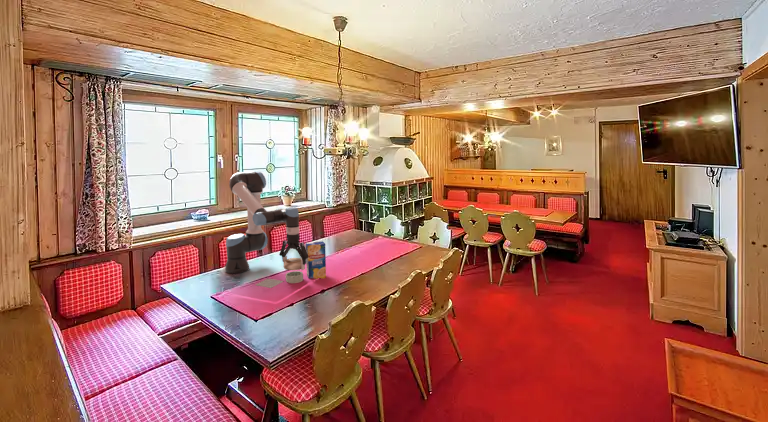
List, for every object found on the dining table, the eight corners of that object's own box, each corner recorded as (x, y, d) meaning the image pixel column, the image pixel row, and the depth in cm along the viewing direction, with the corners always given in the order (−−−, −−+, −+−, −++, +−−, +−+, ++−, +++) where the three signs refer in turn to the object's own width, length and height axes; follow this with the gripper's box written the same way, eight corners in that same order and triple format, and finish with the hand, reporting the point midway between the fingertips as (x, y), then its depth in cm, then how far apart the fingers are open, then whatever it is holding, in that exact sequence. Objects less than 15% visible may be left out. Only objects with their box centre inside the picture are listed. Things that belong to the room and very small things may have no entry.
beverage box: (306, 276, 247) (305, 242, 243) (323, 274, 251) (323, 241, 247) (308, 280, 240) (307, 245, 237) (326, 277, 244) (325, 244, 240)
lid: (280, 268, 232) (279, 261, 232) (291, 263, 243) (291, 256, 243) (297, 271, 228) (296, 264, 227) (308, 265, 239) (308, 258, 238)
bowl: (283, 284, 233) (283, 276, 232) (289, 278, 243) (288, 271, 242) (300, 284, 232) (299, 276, 231) (305, 278, 242) (304, 271, 241)
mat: (254, 286, 229) (254, 285, 229) (267, 280, 240) (267, 278, 240) (271, 289, 225) (271, 287, 224) (283, 282, 236) (283, 281, 235)
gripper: (272, 233, 233) (274, 267, 237) (306, 236, 224) (308, 272, 228) (279, 230, 240) (281, 264, 244) (313, 233, 231) (314, 268, 235)
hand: (294, 268), depth 236 cm, fingers closed on lid, 12 cm apart
